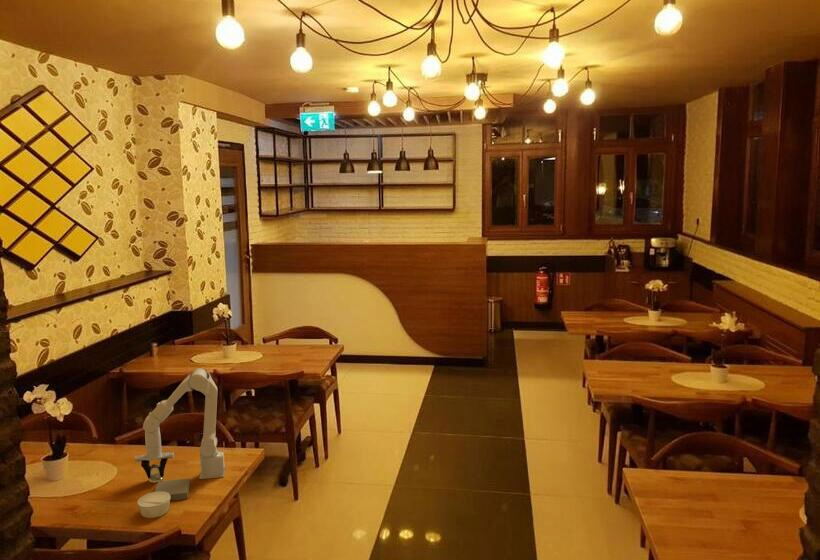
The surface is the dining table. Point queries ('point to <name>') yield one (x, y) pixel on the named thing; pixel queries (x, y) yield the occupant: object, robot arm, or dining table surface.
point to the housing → (155, 473)
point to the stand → (175, 488)
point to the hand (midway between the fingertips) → (155, 476)
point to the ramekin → (154, 504)
